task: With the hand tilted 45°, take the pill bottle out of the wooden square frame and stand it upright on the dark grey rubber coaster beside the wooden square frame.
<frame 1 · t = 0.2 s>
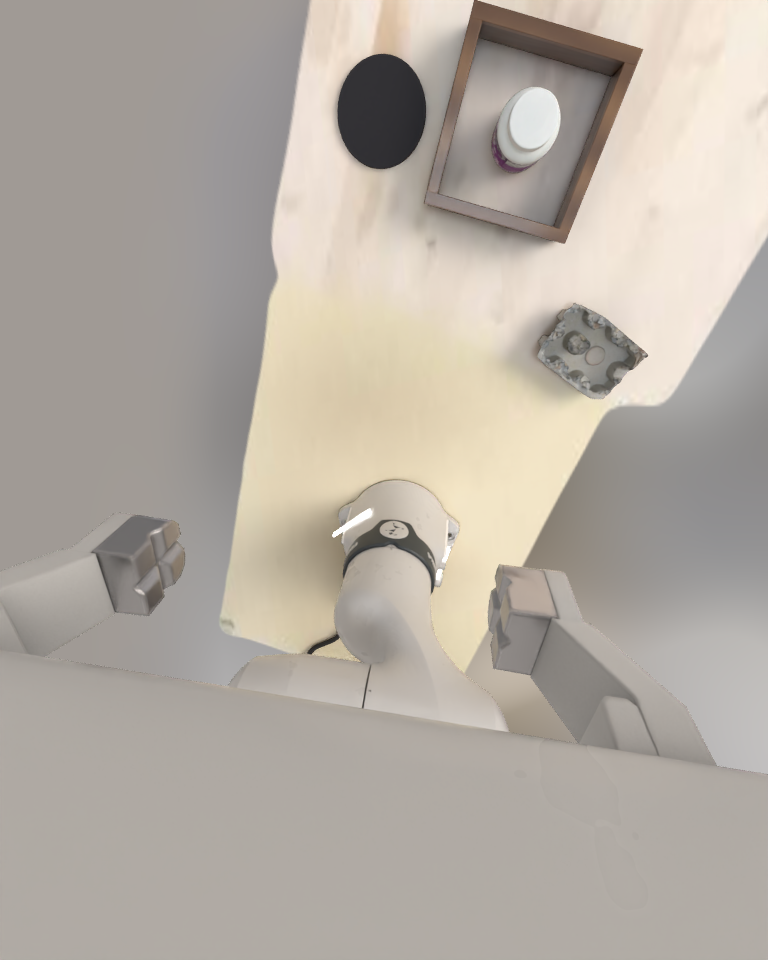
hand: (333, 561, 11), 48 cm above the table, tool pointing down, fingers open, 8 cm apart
coaster: (381, 114, 44), on the table
wooden square frame: (517, 141, 44), on the table
egg carton: (582, 349, 52), on the table
pill bottle: (517, 142, 44), resting in wooden square frame
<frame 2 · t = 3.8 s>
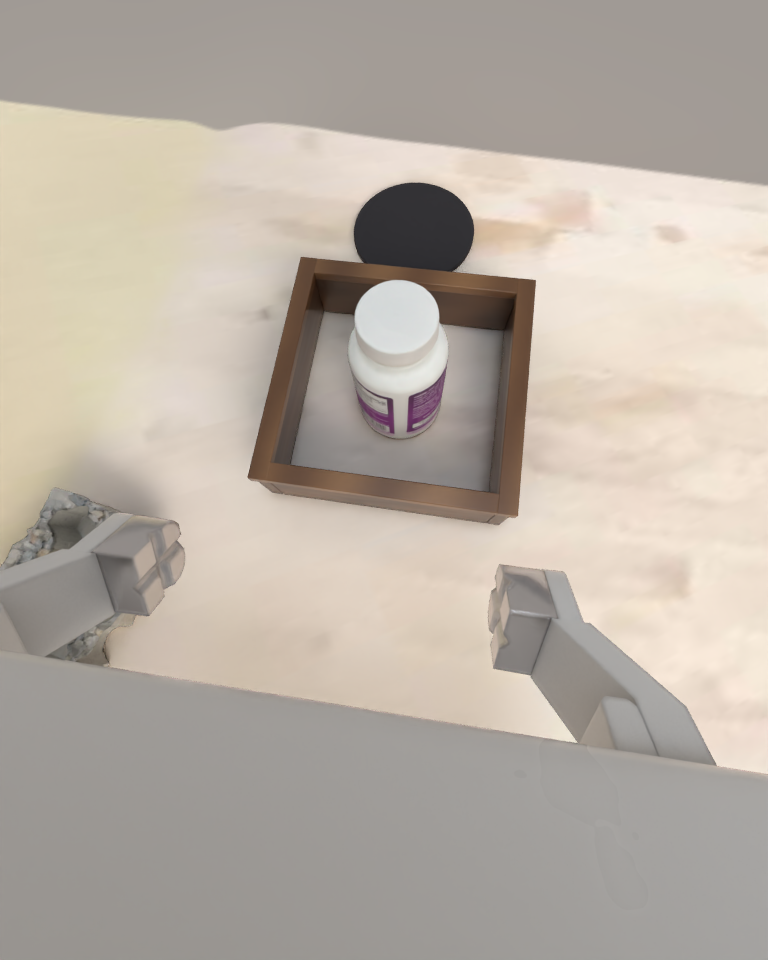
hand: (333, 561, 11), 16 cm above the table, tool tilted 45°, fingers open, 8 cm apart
coaster: (413, 233, 33), on the table
wooden square frame: (399, 403, 29), on the table
egg carton: (93, 593, 27), on the table
pill bottle: (399, 405, 29), resting in wooden square frame
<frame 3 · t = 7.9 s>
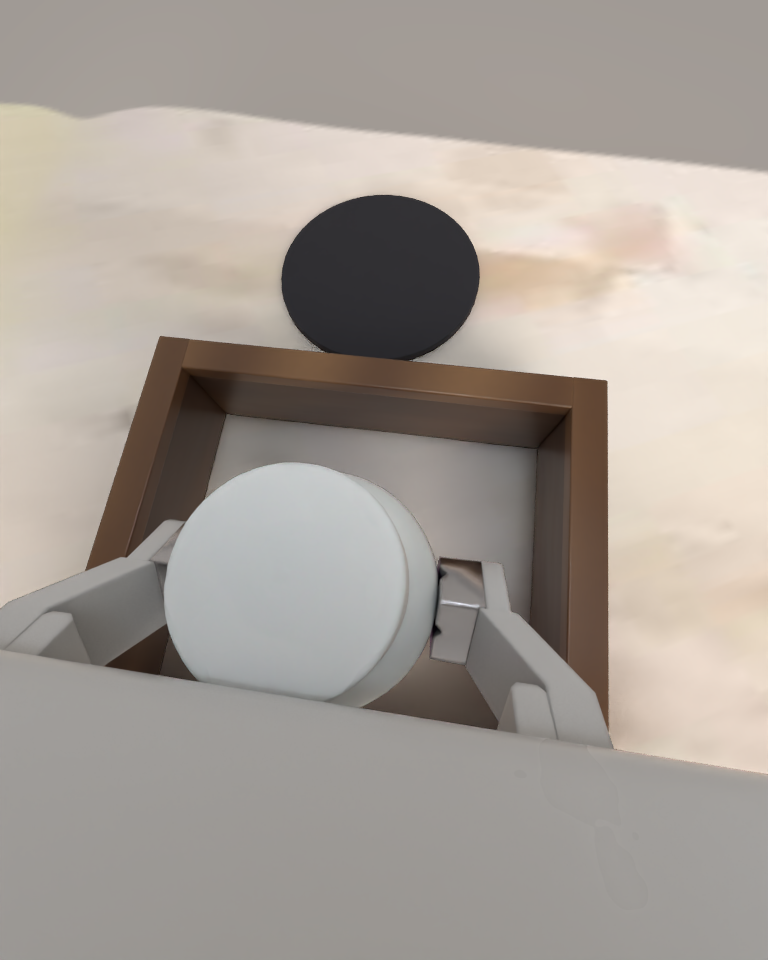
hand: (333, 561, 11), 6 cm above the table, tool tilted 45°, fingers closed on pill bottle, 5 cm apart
coaster: (380, 278, 20), on the table
wooden square frame: (353, 592, 16), on the table
pill bottle: (353, 592, 16), resting in wooden square frame, touching gripper
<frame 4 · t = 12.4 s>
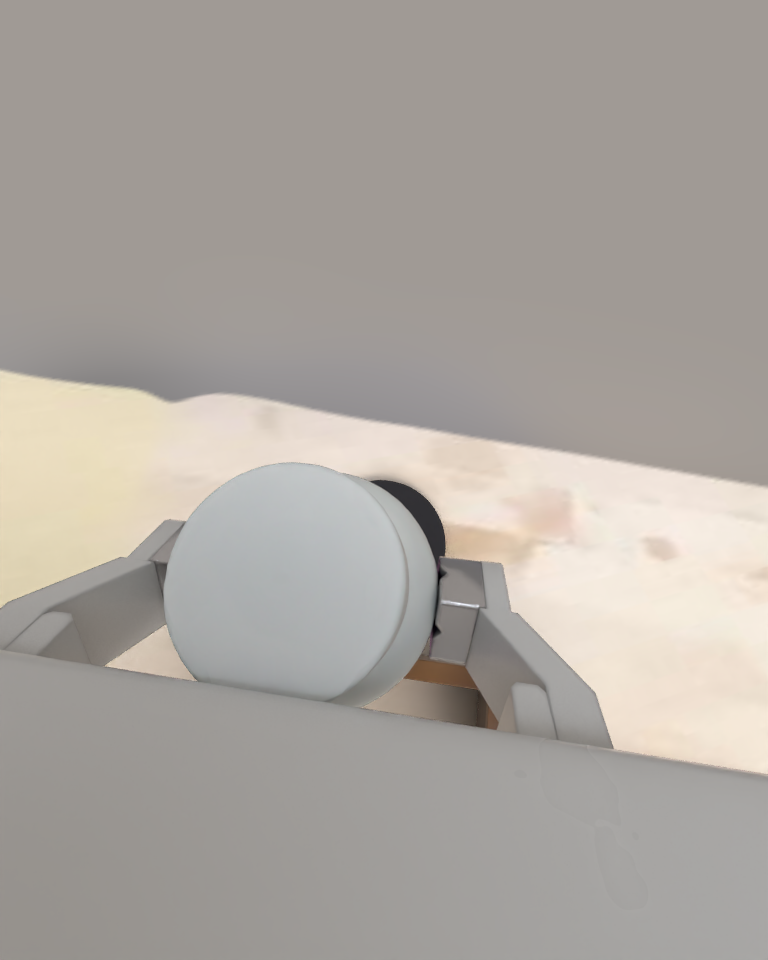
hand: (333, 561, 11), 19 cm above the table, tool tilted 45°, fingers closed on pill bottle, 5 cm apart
coaster: (380, 543, 30), on the table
wooden square frame: (363, 775, 26), on the table
pill bottle: (353, 592, 16), point 13 cm above the table, touching gripper
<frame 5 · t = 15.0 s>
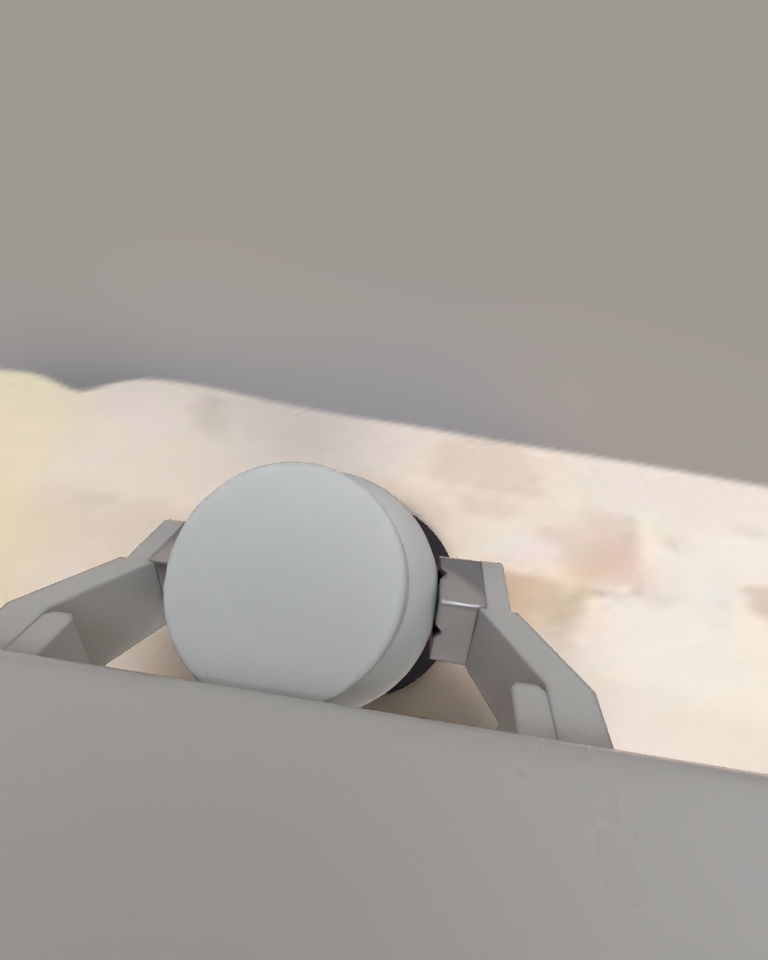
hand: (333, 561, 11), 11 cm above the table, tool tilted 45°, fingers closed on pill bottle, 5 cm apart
coaster: (363, 593, 21), on the table
pill bottle: (353, 592, 16), point 5 cm above the table, touching gripper
when the fingers open (6 cm above the table, at t = 16.8 s): pill bottle stays where it is, resting on coaster.
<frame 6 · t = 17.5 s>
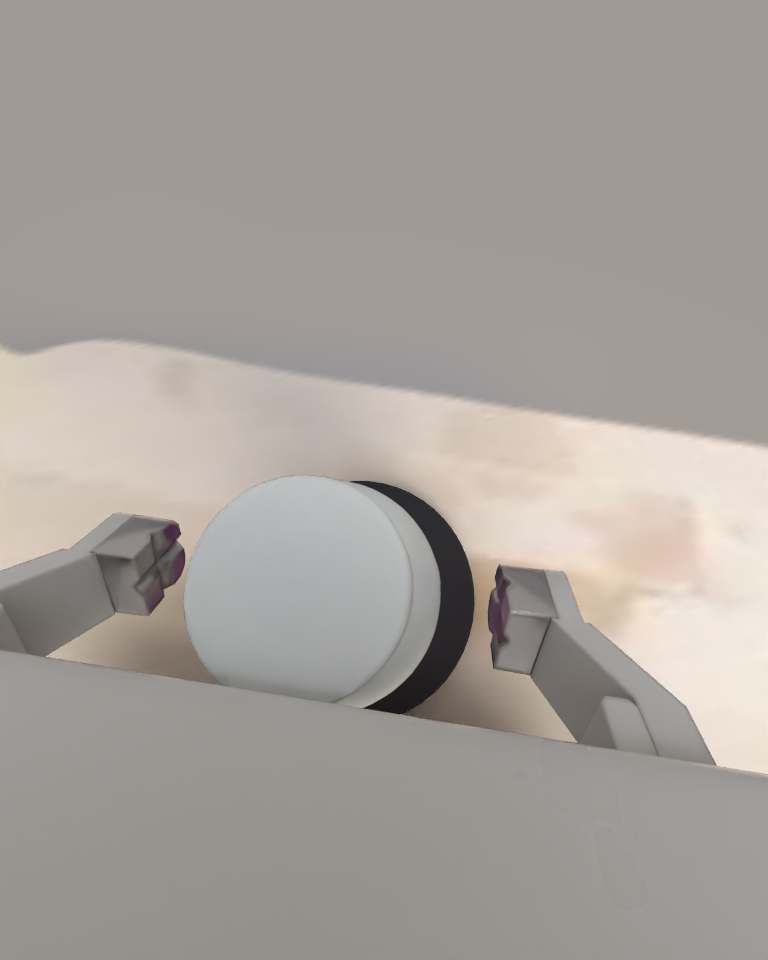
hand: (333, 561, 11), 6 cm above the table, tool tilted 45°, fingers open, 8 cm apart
coaster: (357, 593, 17), on the table
pill bottle: (357, 595, 17), resting on coaster
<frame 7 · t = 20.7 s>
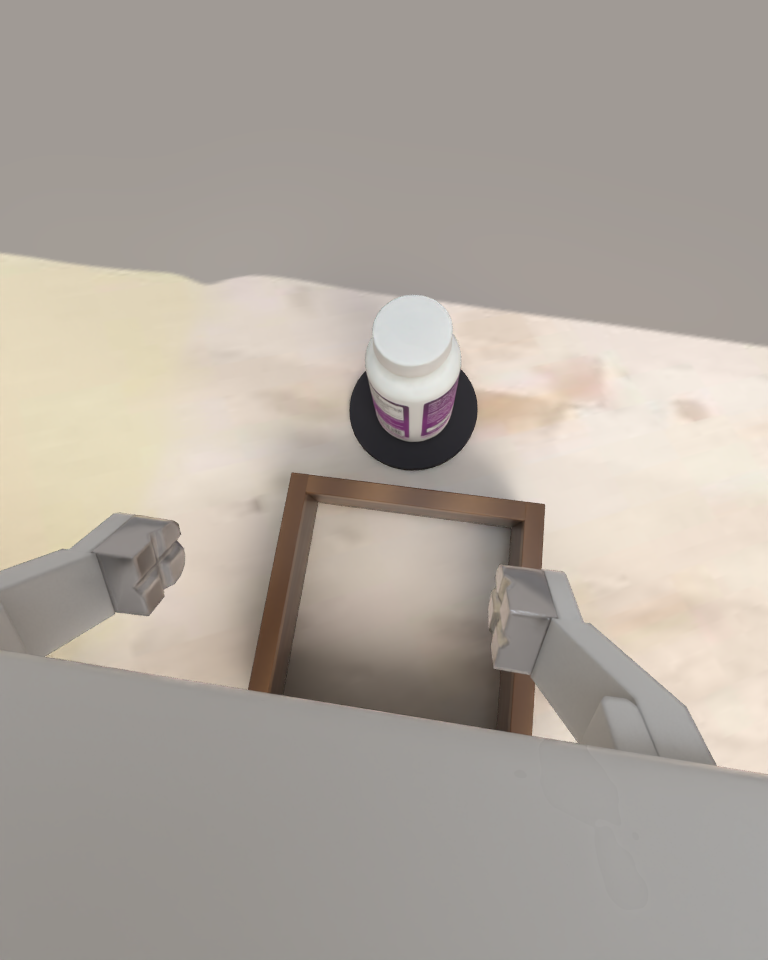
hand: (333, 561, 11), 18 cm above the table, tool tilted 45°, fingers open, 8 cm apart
coaster: (412, 409, 31), on the table
wooden square frame: (399, 615, 27), on the table
pill bottle: (413, 409, 31), resting on coaster
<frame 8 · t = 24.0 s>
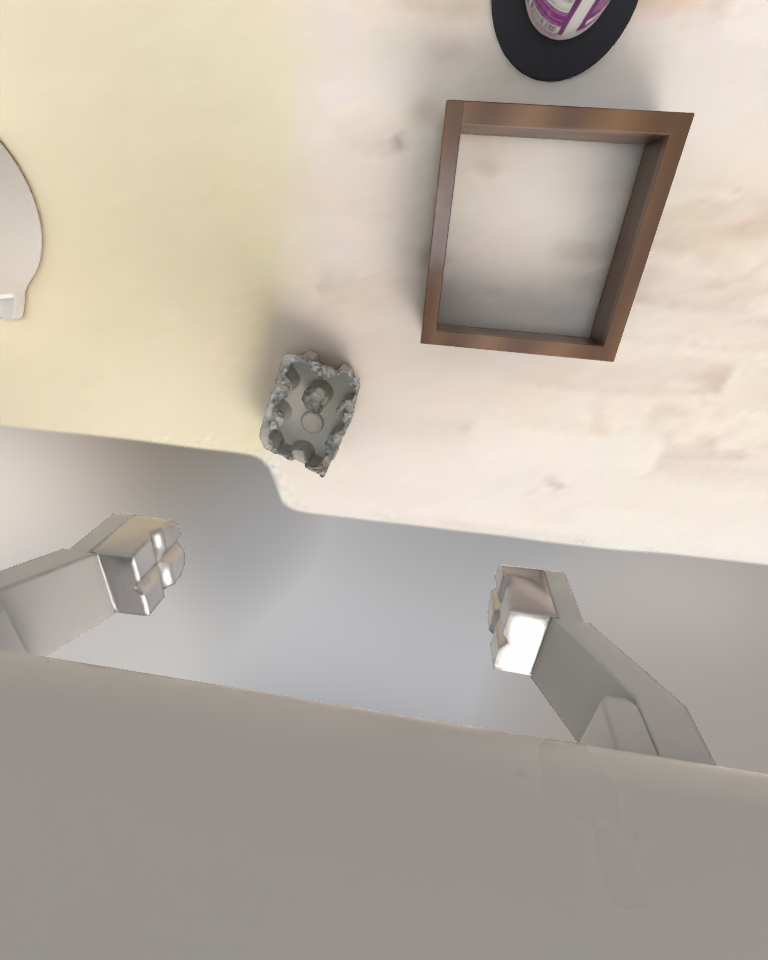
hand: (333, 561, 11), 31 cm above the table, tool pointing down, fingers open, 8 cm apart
wooden square frame: (528, 243, 34), on the table
egg carton: (315, 405, 43), on the table
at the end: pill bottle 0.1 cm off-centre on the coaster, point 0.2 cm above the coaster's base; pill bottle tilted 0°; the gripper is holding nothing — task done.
